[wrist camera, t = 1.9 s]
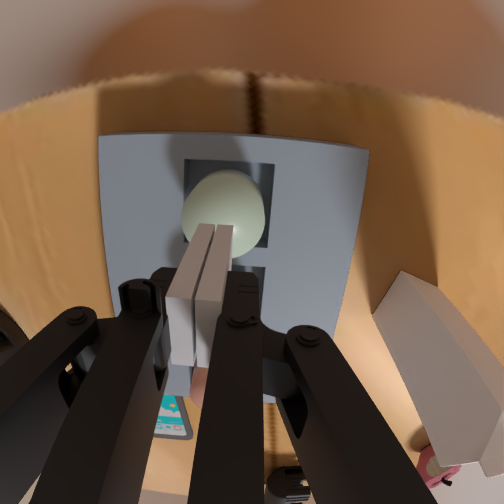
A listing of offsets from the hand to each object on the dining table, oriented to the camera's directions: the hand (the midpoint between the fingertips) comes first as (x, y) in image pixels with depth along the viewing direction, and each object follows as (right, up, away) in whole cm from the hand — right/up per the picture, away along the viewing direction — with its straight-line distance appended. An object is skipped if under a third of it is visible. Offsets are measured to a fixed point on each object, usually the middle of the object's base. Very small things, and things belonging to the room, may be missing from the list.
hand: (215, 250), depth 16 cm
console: (-1, -2, +14) cm, 15 cm away
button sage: (0, +3, +8) cm, 9 cm away
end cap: (+7, -40, +32) cm, 52 cm away
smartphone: (-11, -21, +23) cm, 33 cm away
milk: (+18, -5, +16) cm, 25 cm away
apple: (+36, -38, +30) cm, 60 cm away
